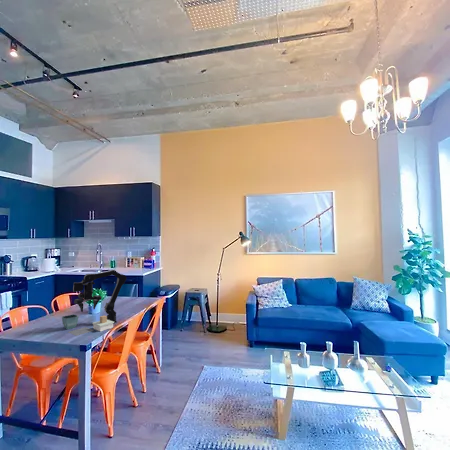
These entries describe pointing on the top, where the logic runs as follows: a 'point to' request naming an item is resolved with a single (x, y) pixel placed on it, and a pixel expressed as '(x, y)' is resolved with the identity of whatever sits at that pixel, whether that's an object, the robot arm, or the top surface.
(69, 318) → the flower pot
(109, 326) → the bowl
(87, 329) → the mat
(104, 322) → the lid
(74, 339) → the top surface
